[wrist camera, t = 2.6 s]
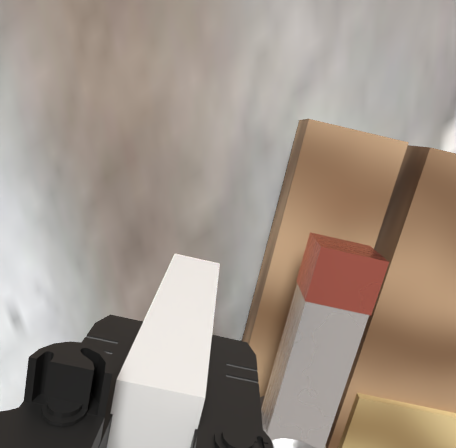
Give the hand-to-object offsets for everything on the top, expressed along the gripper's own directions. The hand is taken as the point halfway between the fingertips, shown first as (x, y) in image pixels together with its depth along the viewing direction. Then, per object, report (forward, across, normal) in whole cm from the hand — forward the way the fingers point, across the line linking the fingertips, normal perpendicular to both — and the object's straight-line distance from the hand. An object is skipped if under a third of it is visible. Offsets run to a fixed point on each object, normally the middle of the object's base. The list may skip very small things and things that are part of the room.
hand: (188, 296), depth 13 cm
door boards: (+8, -9, +3) cm, 13 cm away
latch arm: (+4, -6, +4) cm, 8 cm away
